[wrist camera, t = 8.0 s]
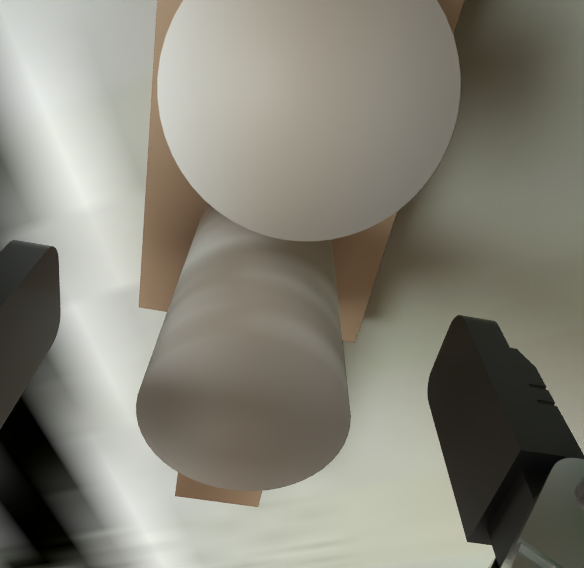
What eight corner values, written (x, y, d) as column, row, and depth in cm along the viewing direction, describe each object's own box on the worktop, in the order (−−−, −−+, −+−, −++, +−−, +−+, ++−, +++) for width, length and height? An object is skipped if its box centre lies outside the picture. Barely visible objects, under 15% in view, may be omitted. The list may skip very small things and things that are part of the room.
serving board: (472, -75, 11) (672, -94, 5) (310, 454, 20) (314, 687, 14) (179, -145, 11) (24, -256, 5) (138, 430, 19) (62, 660, 13)
